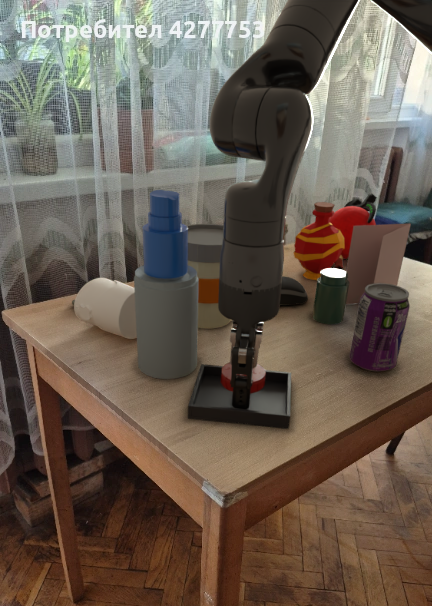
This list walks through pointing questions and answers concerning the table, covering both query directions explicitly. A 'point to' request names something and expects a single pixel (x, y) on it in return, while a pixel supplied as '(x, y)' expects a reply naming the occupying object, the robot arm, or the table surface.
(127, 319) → the mug
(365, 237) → the greeting card
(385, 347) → the beverage can
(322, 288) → the jar
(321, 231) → the potion bottle
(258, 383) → the lid
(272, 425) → the tray
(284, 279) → the computer mouse
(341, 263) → the ammunition
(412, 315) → the table surface
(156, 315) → the spray bottle
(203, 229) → the reusable coffee cup
